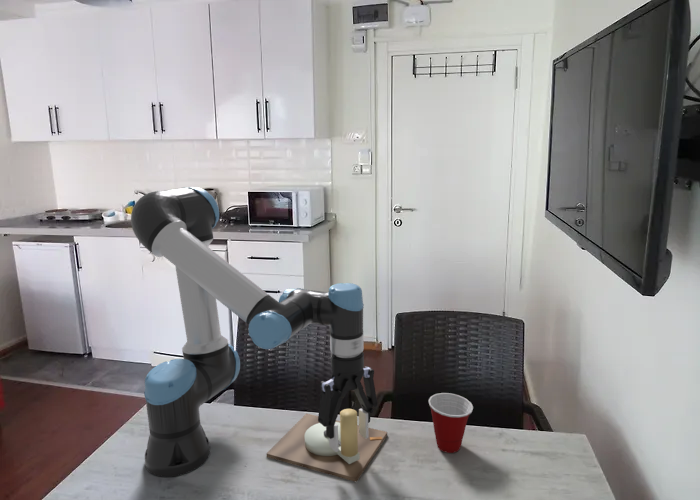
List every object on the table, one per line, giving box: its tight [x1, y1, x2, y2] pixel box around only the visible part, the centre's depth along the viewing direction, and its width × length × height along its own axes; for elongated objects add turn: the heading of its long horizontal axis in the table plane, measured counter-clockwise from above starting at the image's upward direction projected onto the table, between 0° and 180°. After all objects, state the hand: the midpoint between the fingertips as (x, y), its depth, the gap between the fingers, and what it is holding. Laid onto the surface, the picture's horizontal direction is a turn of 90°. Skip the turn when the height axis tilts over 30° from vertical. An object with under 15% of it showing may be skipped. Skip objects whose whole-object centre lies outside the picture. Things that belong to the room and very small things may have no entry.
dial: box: [305, 408, 360, 464], centre depth 124 cm, size 17×12×12 cm
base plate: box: [265, 413, 388, 483], centre depth 127 cm, size 24×20×1 cm
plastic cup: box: [428, 392, 474, 454], centre depth 125 cm, size 11×11×12 cm
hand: (349, 441), depth 119 cm, fingers open, 8 cm apart
